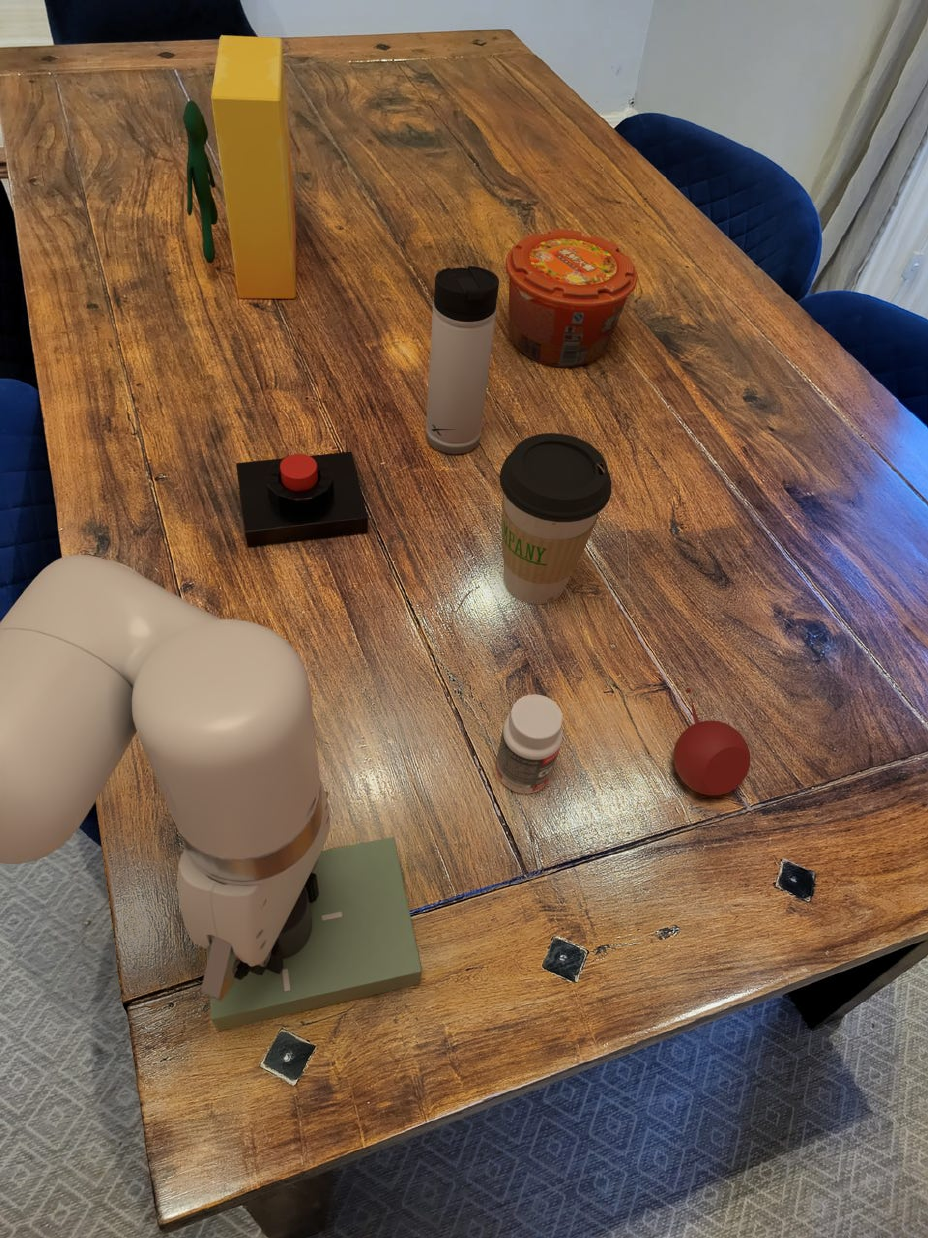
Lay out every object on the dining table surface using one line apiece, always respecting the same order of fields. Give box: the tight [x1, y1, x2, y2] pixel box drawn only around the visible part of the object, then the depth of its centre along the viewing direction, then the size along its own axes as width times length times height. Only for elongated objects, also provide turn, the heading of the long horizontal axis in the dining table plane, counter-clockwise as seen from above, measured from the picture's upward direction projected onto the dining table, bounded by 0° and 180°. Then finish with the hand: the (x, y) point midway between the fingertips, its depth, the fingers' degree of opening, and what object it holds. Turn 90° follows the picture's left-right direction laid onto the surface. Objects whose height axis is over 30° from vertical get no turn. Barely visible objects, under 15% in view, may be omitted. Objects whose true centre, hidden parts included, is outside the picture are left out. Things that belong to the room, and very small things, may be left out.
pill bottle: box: [495, 693, 564, 795], centre depth 70 cm, size 5×5×8 cm
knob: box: [275, 885, 312, 959], centre depth 59 cm, size 4×4×5 cm
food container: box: [504, 229, 639, 368], centre depth 108 cm, size 16×16×11 cm
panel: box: [205, 836, 423, 1032], centre depth 62 cm, size 14×10×3 cm
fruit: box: [673, 687, 751, 796], centre depth 73 cm, size 6×6×8 cm
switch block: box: [235, 451, 369, 548], centre depth 89 cm, size 12×10×4 cm
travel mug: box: [424, 265, 500, 455], centre depth 91 cm, size 6×7×20 cm
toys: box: [182, 34, 297, 300], centre depth 108 cm, size 18×12×24 cm
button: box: [280, 453, 318, 491], centre depth 87 cm, size 4×4×2 cm
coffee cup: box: [499, 432, 613, 605], centre depth 81 cm, size 10×10×15 cm
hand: (279, 925), depth 60 cm, fingers closed on knob, 4 cm apart
